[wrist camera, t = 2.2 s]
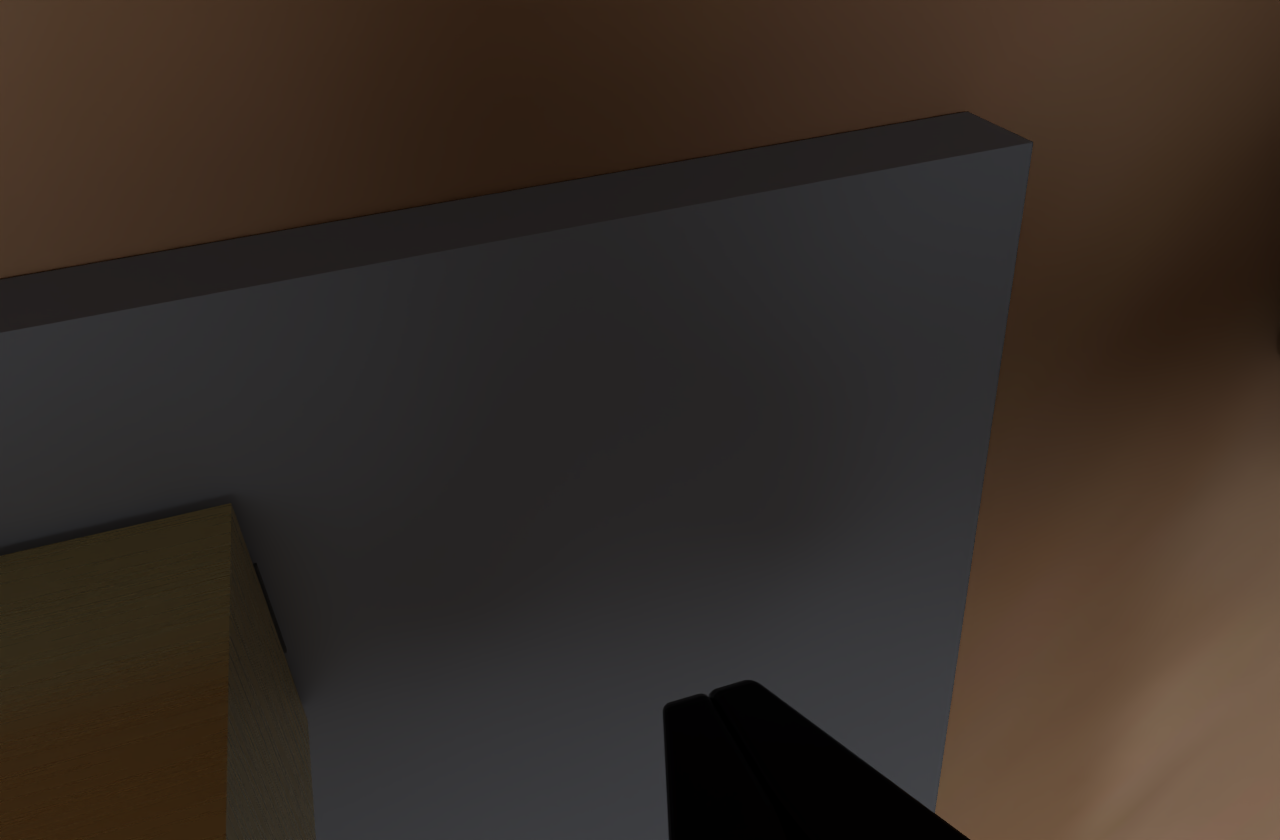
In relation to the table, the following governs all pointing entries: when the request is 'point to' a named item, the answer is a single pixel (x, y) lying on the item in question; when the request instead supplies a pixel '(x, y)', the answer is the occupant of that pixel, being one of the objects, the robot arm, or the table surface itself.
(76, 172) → the table surface
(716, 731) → the robot arm
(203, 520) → the brass slider
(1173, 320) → the table surface
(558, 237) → the panel
